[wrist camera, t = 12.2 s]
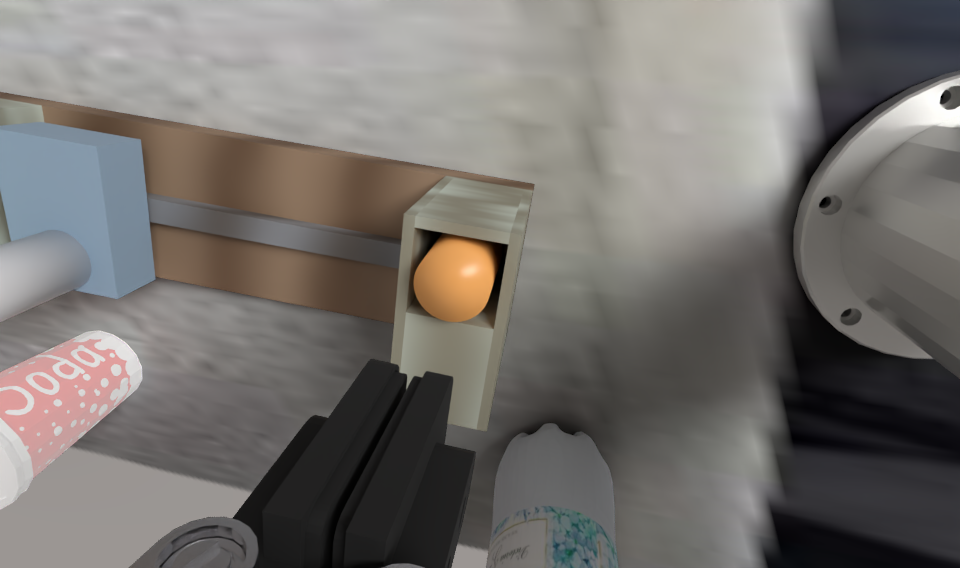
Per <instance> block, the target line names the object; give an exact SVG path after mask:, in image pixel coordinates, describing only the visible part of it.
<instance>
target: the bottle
mask: <svg viewBox="0 0 960 568" xmlns="http://www.w3.org/2000/svg"><path fill="white" fill-rule="evenodd" d="M486 568H619V567H618V559H617V550H616V541H615V505H614V490H613V482H612V477H611V473H610V469H609V467H608V465H607V463H606V462H605V461H604V459H603V458H602V456H601V454H600V453H599V451H598V449H597V447H596V445H595V443H594V442H593V440H592V439H591V438H590V437H589V436H588V435H586V434H585V433H583V432H576V433H575V434H574V435H570V434H567V433H564V432H563V431H561V430H560V429H559V427H558V426H557V425H556V424H554V423H547V424H544V425H542V427H541V428H540V429H539V430H538V431H537V432H535V433H534V434H531V435H528V434H526V433H520V434H518V435H517V436H515V437H514V438H513V439H512V440H511V442H510V443H509V445H508V447H507V449H506V451H505V453H504V455H503V457H502V460H501V462H500V464H499V467H498V471H497V475H496V480H495V489H494V500H493V519H492V534H491V539H490V545H489V552H488V558H487V565H486Z"/></svg>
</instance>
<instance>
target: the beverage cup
mask: <svg viewBox="0 0 960 568" xmlns="http://www.w3.org/2000/svg"><path fill="white" fill-rule="evenodd" d="M141 381H142V366H141V364H140V362H139V359H138V357H137V355H136V354H135V352H134V351H133V350H132V349H131V348H130V347H129V346H128V344H127V343H126V342H124V341H122V340H121V339H119V338H118V337H116V336H115V335H113V334H110V333H106V332H103V331H90V332H85V333H83V334H81V335H79V336H77V337H75V338H73V339H70V340H68V341H66V342H64V343H62V344H60V345H58V346H56V347H53V348H51V349H49V350H47V351H45V352H43V353H41V354H38V355H36V356H34V357H32V358H30V359H28V360H26V361H23V362H21V363H19V364H17V365H15V366H13V367H11V368H8V369H6V370H4V371H2V372H0V509H2V508H4V507H5V506H8V505H9V504H11V503H13V502H14V501H15V500H16V499H18V497H19V495H20V494H22V493H23V492H25V491H27V490H28V487H29V485H30V483H31V481H32V479H33V478H34V477H35V476H37V475H38V474H39V473H40V472H41V471H43V470H44V469H45V468H46V467H47V466H48V465H49V464H51V463H52V462H53V461H54V460H55V459H56V458H58V457H59V456H60V455H61V454H62V453H63V452H65V451H66V450H67V449H68V448H69V447H70V446H72V445H73V444H74V443H75V442H76V441H77V440H78V439H80V438H81V437H82V436H83V435H84V434H85V433H87V432H88V431H89V430H90V429H91V428H92V427H94V426H95V425H96V424H97V423H98V422H99V421H101V420H102V419H103V418H104V417H105V416H106V415H107V414H109V413H110V412H111V411H112V410H113V409H114V408H116V407H117V406H118V405H119V404H120V403H121V402H123V401H124V400H125V399H126V398H127V397H128V396H130V395H131V394H132V393H133V392H134V391H135V390H136V389H138V387H139V385H140V383H141Z"/></svg>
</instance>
